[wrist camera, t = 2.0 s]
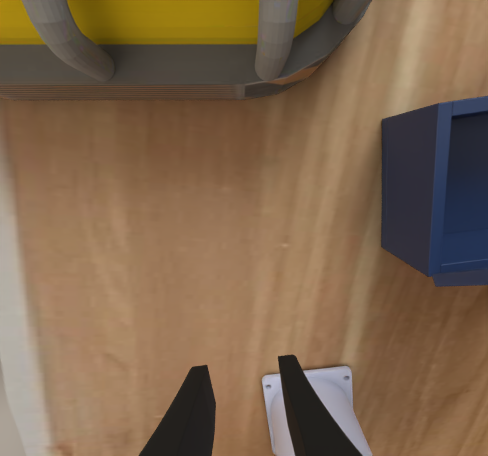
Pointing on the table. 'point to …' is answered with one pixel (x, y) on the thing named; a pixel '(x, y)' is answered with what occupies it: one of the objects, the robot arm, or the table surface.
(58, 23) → the cage light
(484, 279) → the lid
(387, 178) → the case
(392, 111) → the table surface
